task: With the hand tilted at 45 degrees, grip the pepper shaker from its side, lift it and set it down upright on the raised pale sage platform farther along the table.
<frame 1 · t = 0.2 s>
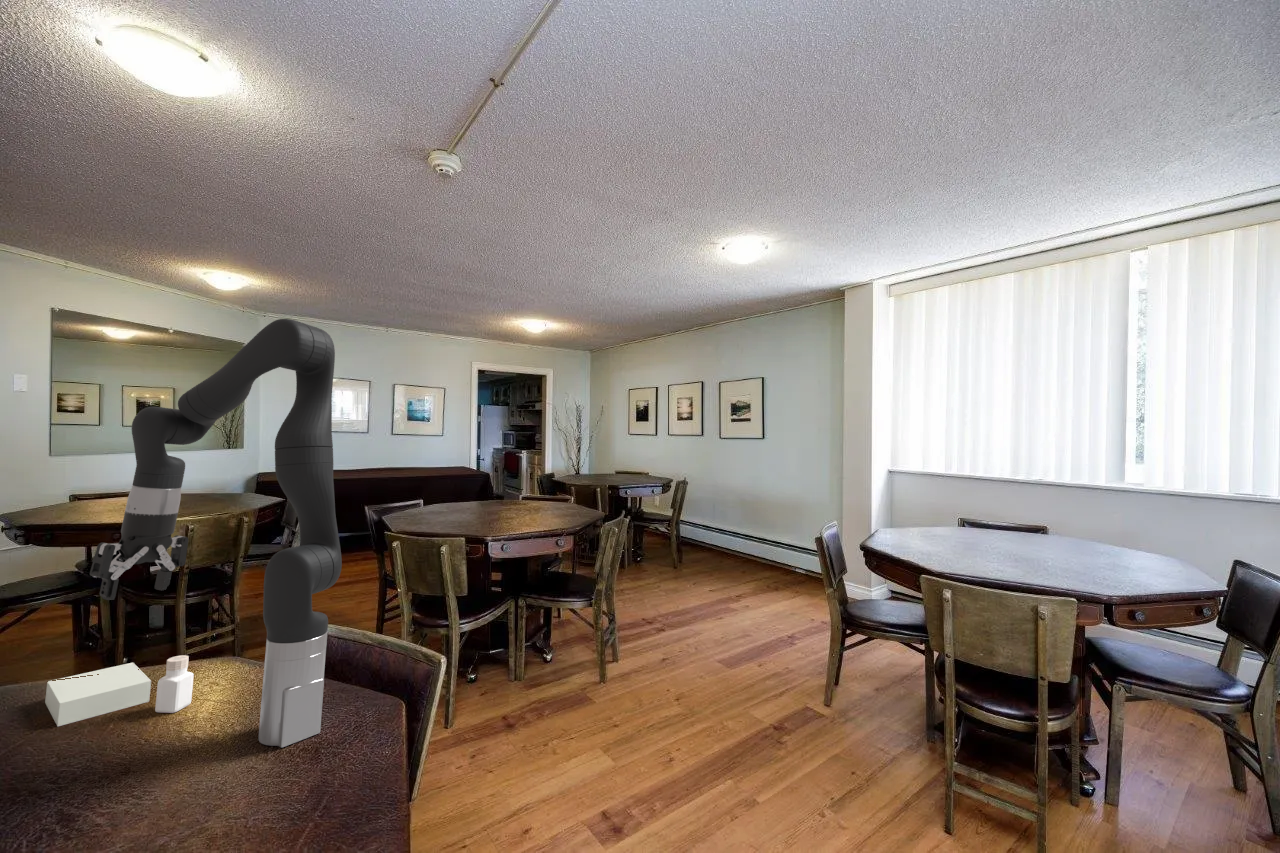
hand: (135, 594, 97), 22 cm above the table, tool pointing down, fingers open, 8 cm apart
platform: (97, 702, 99), on the table
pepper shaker: (173, 709, 98), on the table
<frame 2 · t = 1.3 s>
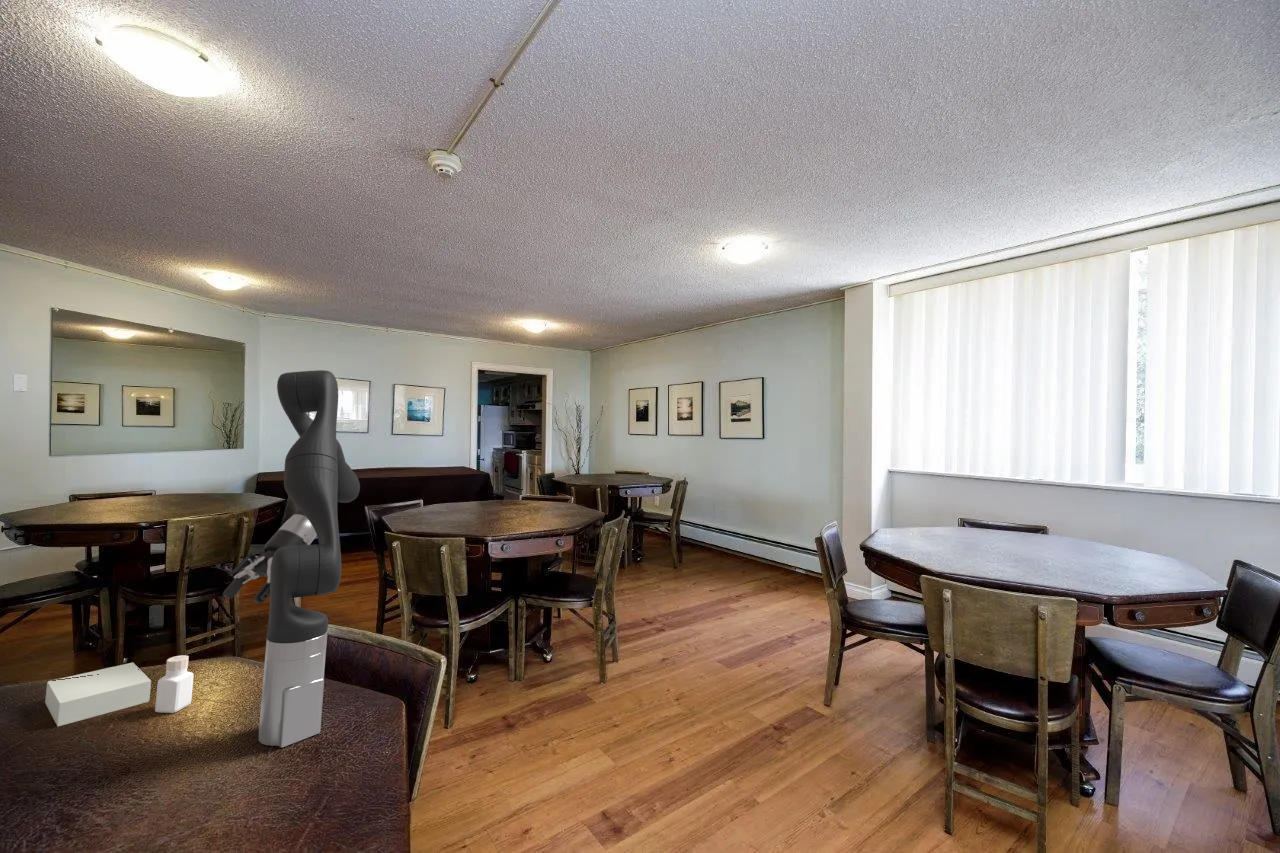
hand: (241, 599, 110), 18 cm above the table, tool tilted 45°, fingers open, 8 cm apart
nothing on the table moved.
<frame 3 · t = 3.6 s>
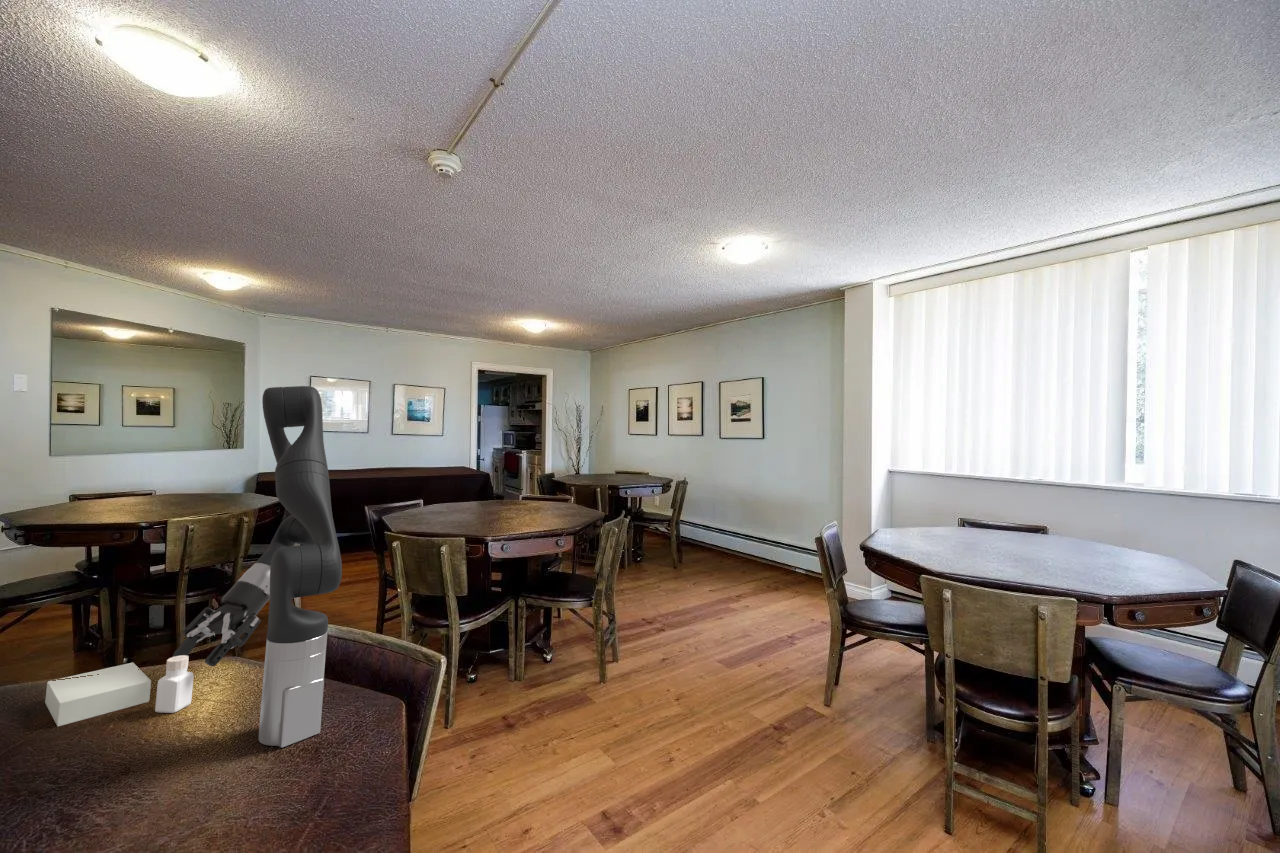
hand: (192, 661, 101), 8 cm above the table, tool tilted 45°, fingers open, 8 cm apart
nothing on the table moved.
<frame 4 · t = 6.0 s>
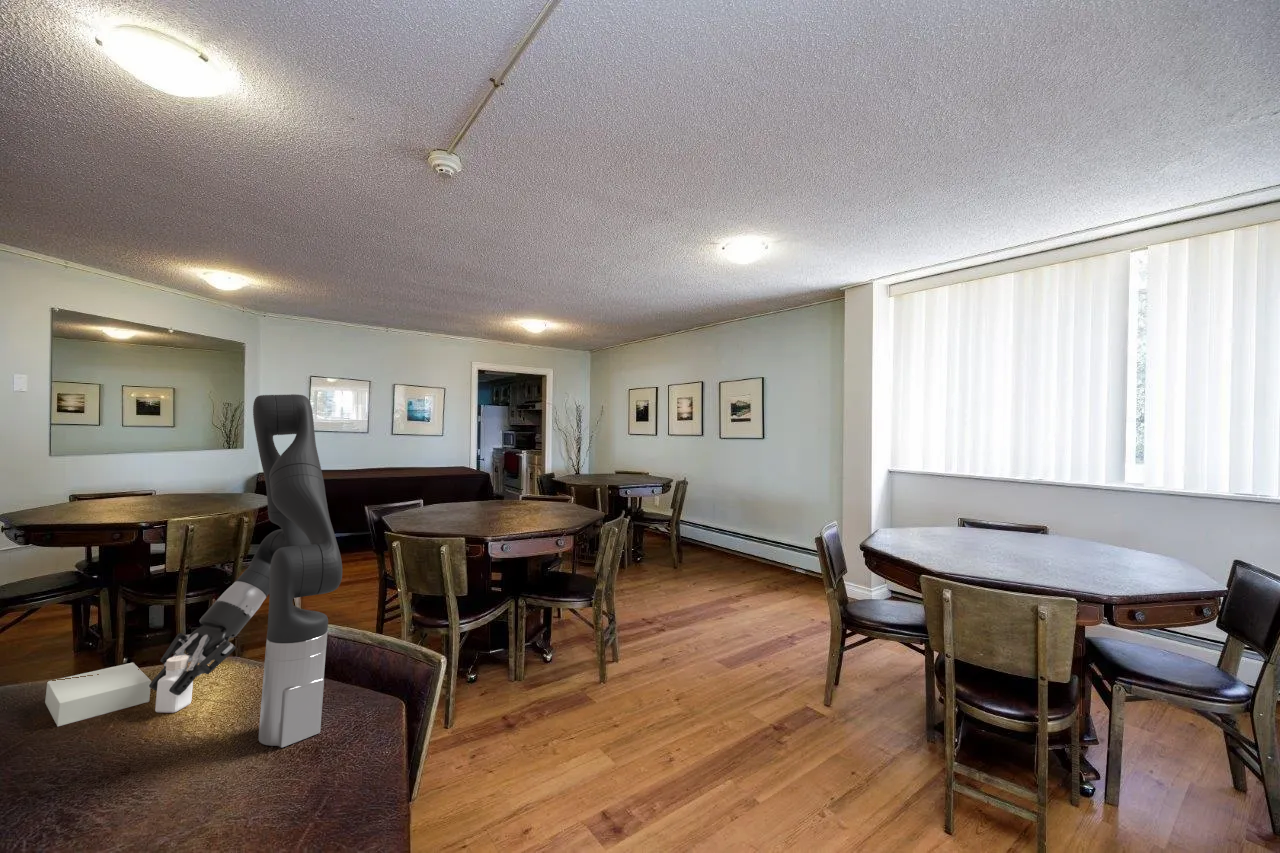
hand: (164, 690, 96), 4 cm above the table, tool tilted 45°, fingers closed on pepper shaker, 4 cm apart
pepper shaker: (173, 709, 98), on the table, touching gripper
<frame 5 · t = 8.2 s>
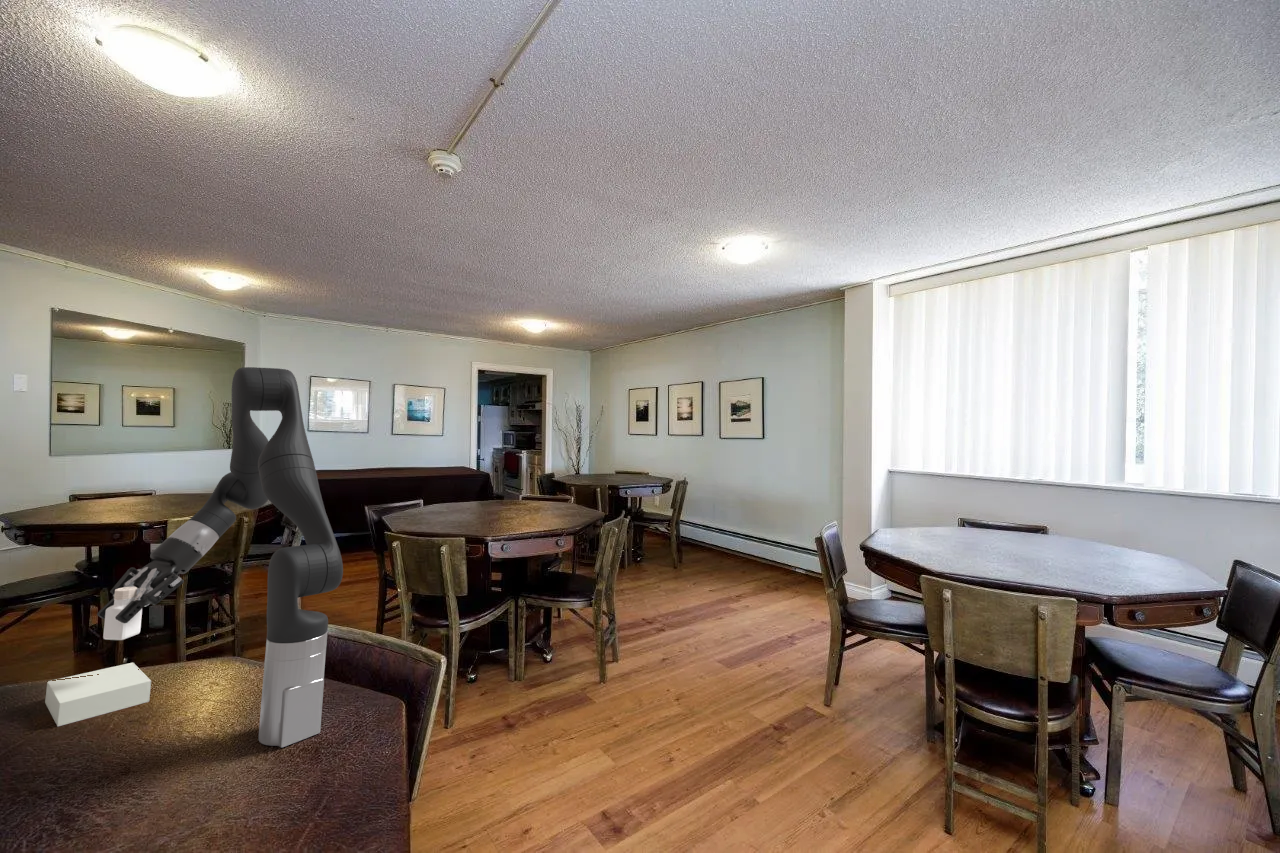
hand: (111, 618, 99), 16 cm above the table, tool tilted 45°, fingers closed on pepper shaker, 4 cm apart
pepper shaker: (121, 638, 101), point 12 cm above the table, touching gripper
when the fingers open (9 cm above the table, at t = 10.5 s): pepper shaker drops 1 cm, resting on platform.
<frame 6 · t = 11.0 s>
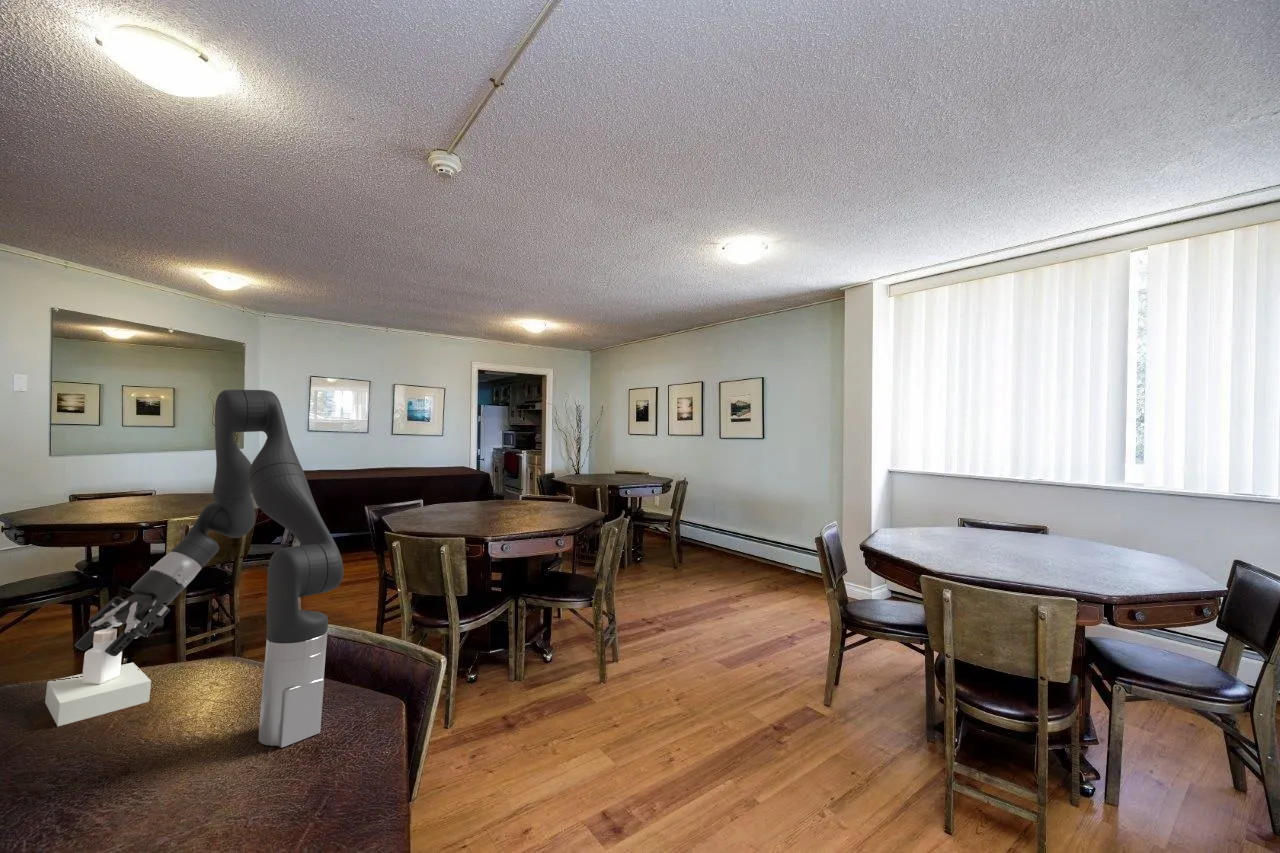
hand: (94, 651, 99), 10 cm above the table, tool tilted 45°, fingers open, 8 cm apart
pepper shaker: (100, 681, 100), point 4 cm above the table, touching platform
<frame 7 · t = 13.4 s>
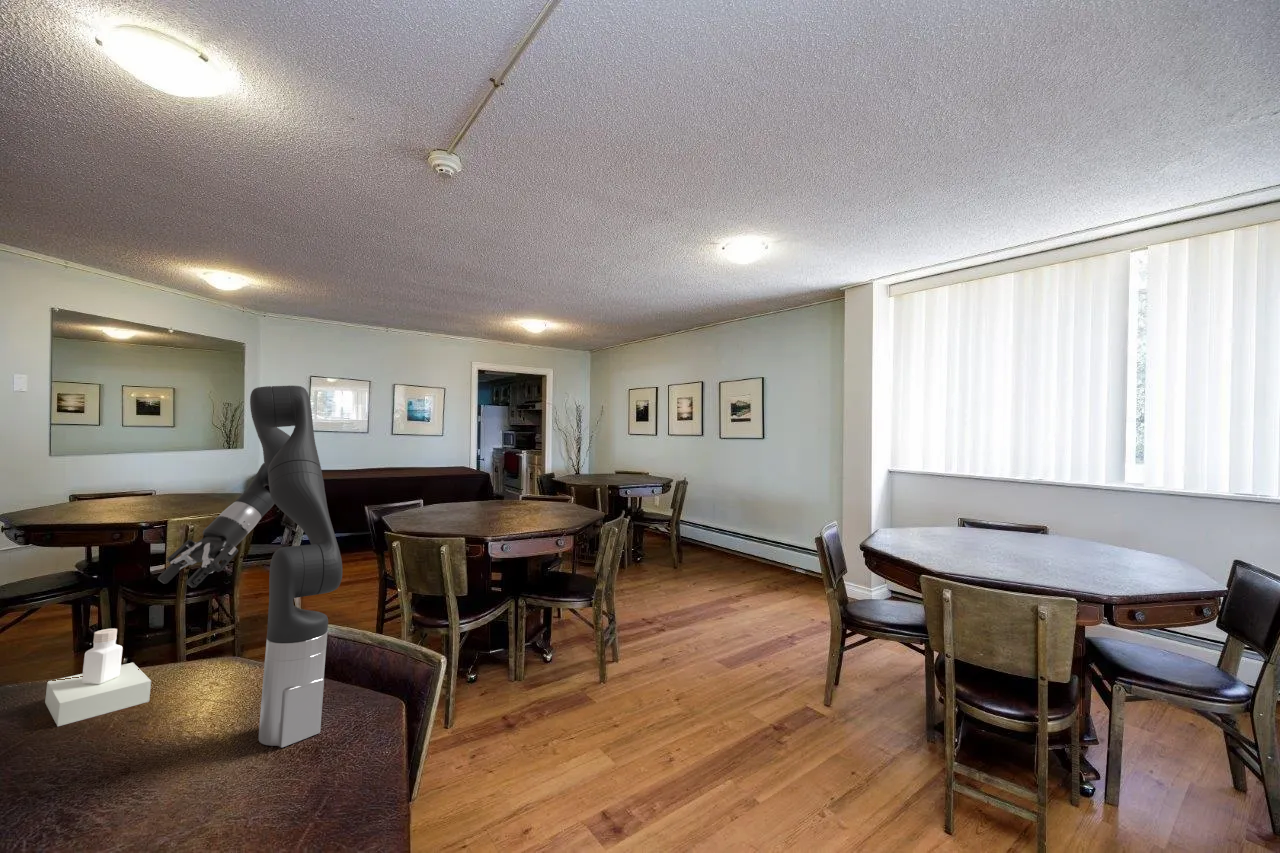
hand: (175, 583, 112), 20 cm above the table, tool tilted 45°, fingers open, 8 cm apart
nothing on the table moved.
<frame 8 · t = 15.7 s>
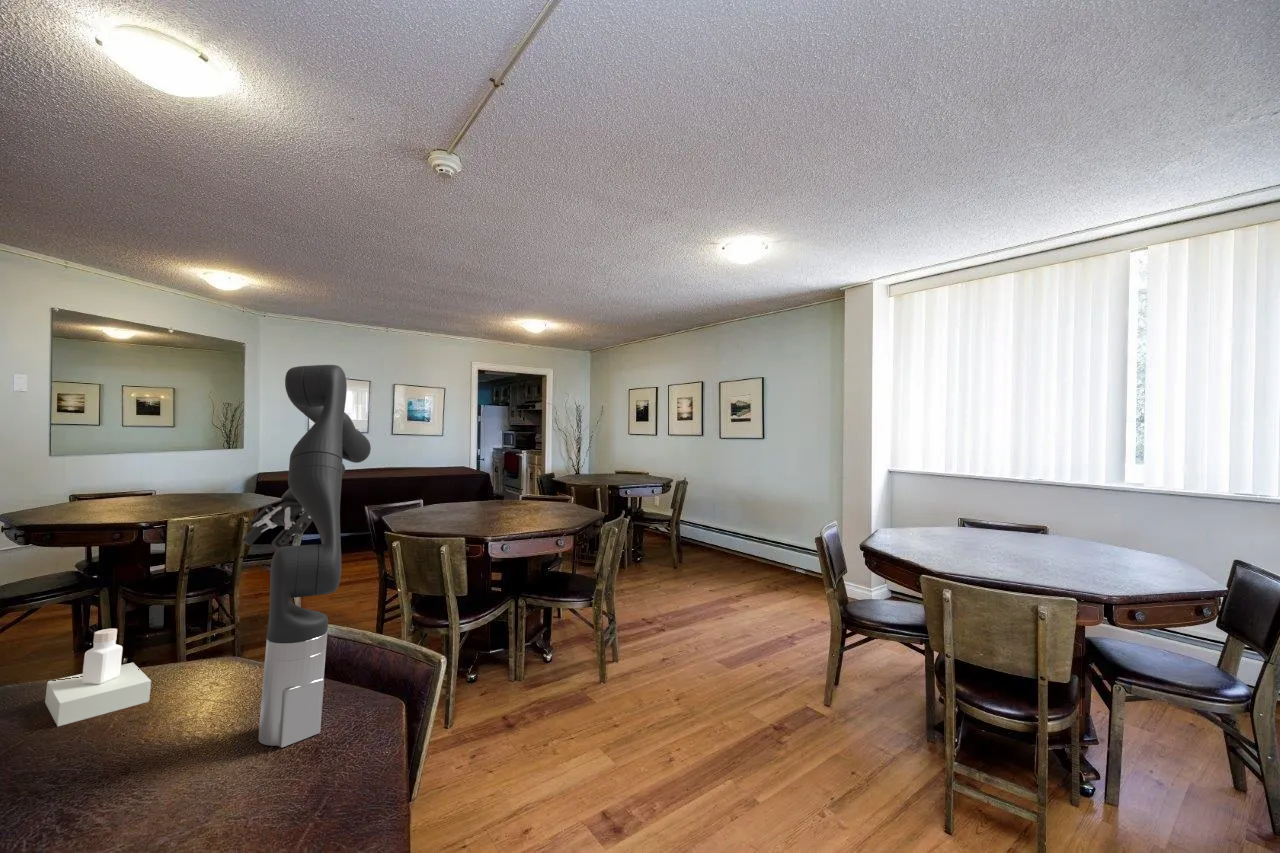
hand: (260, 544, 116), 29 cm above the table, tool tilted 45°, fingers open, 8 cm apart
nothing on the table moved.
at the end: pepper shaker inside the target area on the platform (0.3 cm from its centre), point 3.8 cm above the platform's base; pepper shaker tilted 0°; the gripper is holding nothing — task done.
